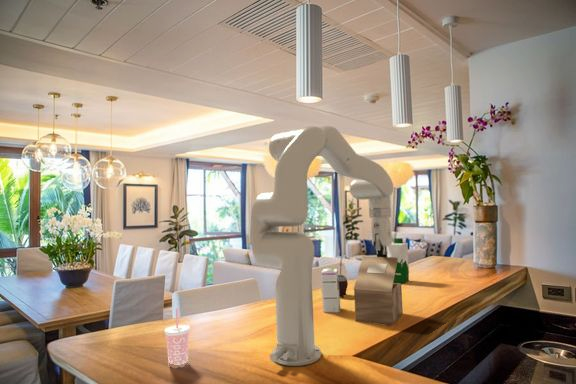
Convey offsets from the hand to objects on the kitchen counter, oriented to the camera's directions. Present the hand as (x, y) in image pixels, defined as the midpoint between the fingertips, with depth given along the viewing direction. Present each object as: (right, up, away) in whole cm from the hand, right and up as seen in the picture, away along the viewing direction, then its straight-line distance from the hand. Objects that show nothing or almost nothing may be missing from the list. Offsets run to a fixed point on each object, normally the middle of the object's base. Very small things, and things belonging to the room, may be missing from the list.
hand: (382, 265), depth 132 cm
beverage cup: (-60, -18, -37) cm, 73 cm away
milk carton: (+19, -17, +46) cm, 52 cm away
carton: (-2, -16, -6) cm, 17 cm away
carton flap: (-4, -1, -7) cm, 8 cm away
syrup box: (-17, -17, +4) cm, 25 cm away
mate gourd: (-12, -17, +25) cm, 32 cm away
